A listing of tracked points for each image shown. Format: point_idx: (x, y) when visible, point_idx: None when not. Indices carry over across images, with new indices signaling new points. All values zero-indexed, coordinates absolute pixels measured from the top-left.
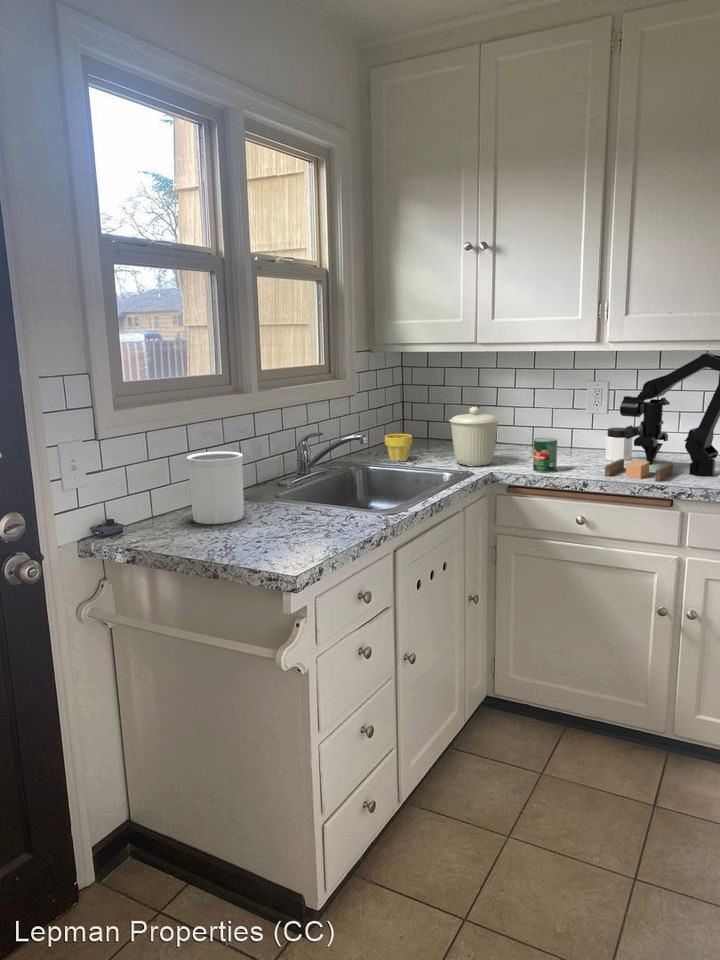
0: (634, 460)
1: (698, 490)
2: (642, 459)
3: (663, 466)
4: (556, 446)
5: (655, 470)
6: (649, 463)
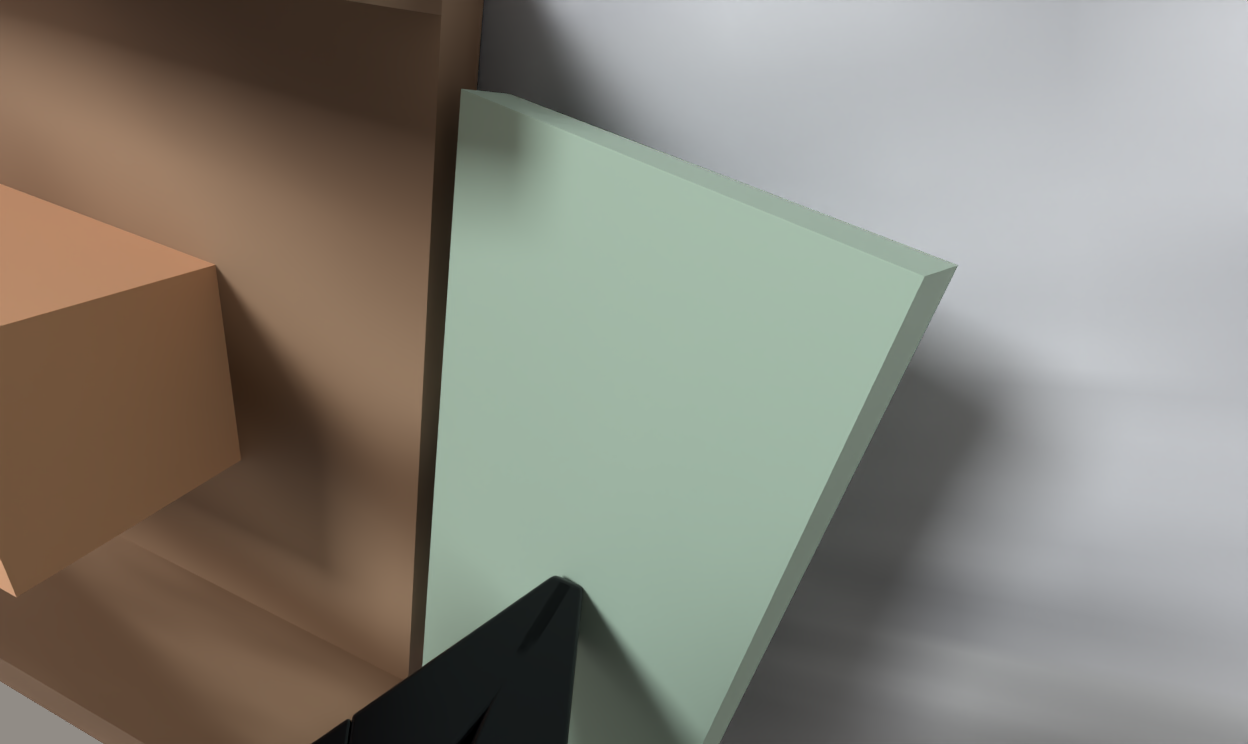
0: (765, 327)
1: None
2: (762, 567)
3: (37, 681)
4: None
5: (450, 588)
6: (53, 571)
